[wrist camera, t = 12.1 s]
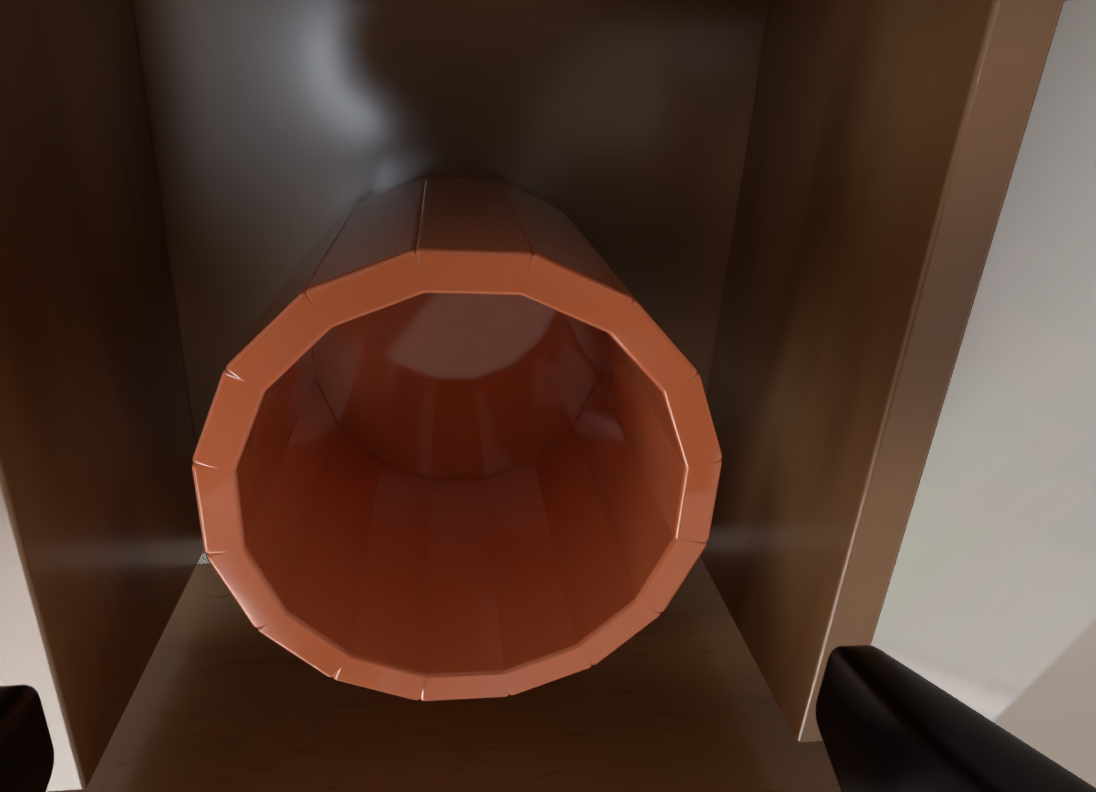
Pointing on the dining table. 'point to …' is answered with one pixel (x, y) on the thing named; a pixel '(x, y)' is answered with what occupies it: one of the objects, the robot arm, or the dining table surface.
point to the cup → (455, 450)
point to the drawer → (615, 231)
